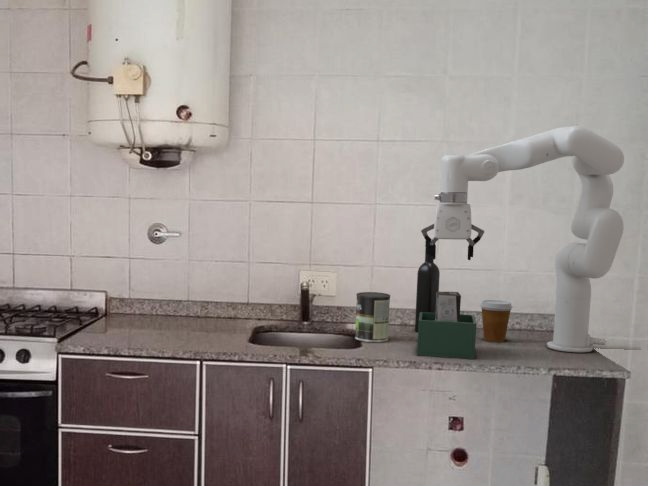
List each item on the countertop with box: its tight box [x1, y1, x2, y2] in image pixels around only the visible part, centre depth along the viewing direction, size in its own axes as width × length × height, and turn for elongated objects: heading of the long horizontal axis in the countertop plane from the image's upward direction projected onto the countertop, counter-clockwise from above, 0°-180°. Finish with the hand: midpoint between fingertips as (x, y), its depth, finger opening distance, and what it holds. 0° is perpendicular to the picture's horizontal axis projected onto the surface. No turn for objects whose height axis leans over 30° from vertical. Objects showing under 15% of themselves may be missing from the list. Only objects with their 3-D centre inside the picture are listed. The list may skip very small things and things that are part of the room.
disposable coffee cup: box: [479, 299, 513, 343], centre depth 254 cm, size 10×10×12 cm
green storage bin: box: [416, 312, 477, 360], centre depth 235 cm, size 16×16×10 cm
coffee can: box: [354, 291, 391, 343], centre depth 252 cm, size 10×10×14 cm
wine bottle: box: [414, 240, 441, 333], centre depth 266 cm, size 6×6×30 cm
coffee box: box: [435, 291, 462, 322], centre depth 235 cm, size 9×6×16 cm
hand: (451, 259), depth 233 cm, fingers open, 9 cm apart
